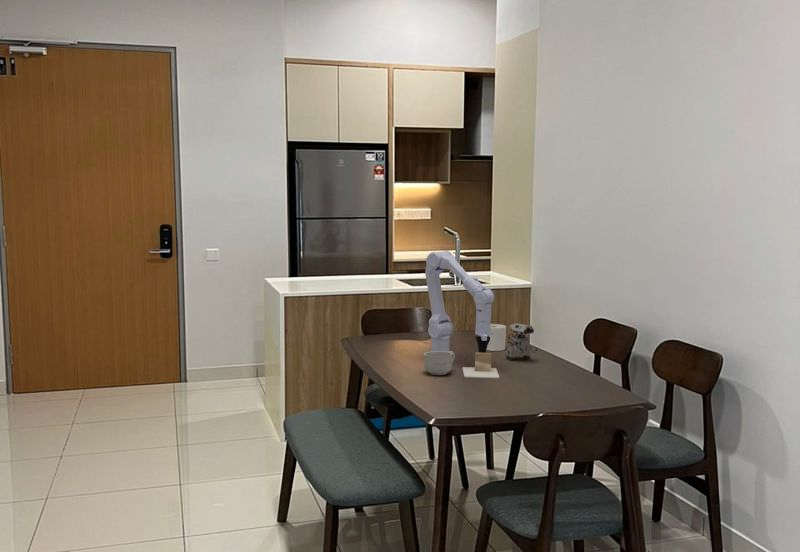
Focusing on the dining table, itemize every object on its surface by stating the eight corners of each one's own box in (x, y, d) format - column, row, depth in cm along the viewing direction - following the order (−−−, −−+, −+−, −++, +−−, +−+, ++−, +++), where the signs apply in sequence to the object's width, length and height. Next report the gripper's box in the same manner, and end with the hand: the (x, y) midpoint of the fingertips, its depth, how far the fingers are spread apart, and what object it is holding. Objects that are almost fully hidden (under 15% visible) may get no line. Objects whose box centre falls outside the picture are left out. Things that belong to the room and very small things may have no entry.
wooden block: (474, 370, 295) (475, 352, 294) (490, 370, 294) (491, 352, 294) (475, 371, 293) (475, 353, 292) (490, 371, 293) (491, 353, 292)
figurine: (516, 364, 307) (518, 327, 305) (504, 357, 318) (505, 322, 316) (537, 363, 310) (538, 326, 308) (524, 356, 321) (525, 321, 319)
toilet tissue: (499, 352, 328) (500, 329, 326) (473, 348, 334) (474, 326, 333) (509, 348, 337) (510, 325, 335) (484, 344, 343) (485, 322, 342)
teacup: (433, 378, 283) (434, 357, 282) (417, 371, 292) (418, 351, 291) (464, 374, 290) (465, 353, 289) (448, 367, 299) (448, 347, 298)
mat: (462, 368, 299) (462, 367, 299) (495, 369, 299) (496, 368, 299) (464, 377, 285) (464, 376, 285) (499, 378, 285) (499, 377, 285)
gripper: (495, 324, 290) (494, 359, 292) (492, 317, 304) (490, 351, 306) (476, 324, 290) (475, 359, 292) (474, 317, 304) (473, 350, 306)
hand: (482, 355), depth 299 cm, fingers closed
